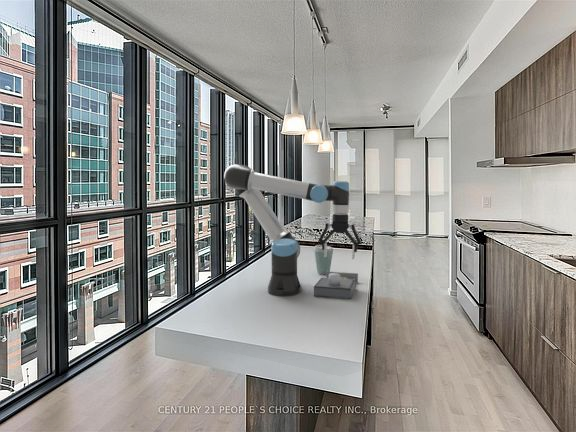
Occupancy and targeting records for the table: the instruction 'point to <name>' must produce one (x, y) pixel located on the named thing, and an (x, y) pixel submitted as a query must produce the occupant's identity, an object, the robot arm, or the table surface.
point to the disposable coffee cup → (323, 259)
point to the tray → (346, 275)
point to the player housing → (334, 287)
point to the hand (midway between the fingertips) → (339, 257)
